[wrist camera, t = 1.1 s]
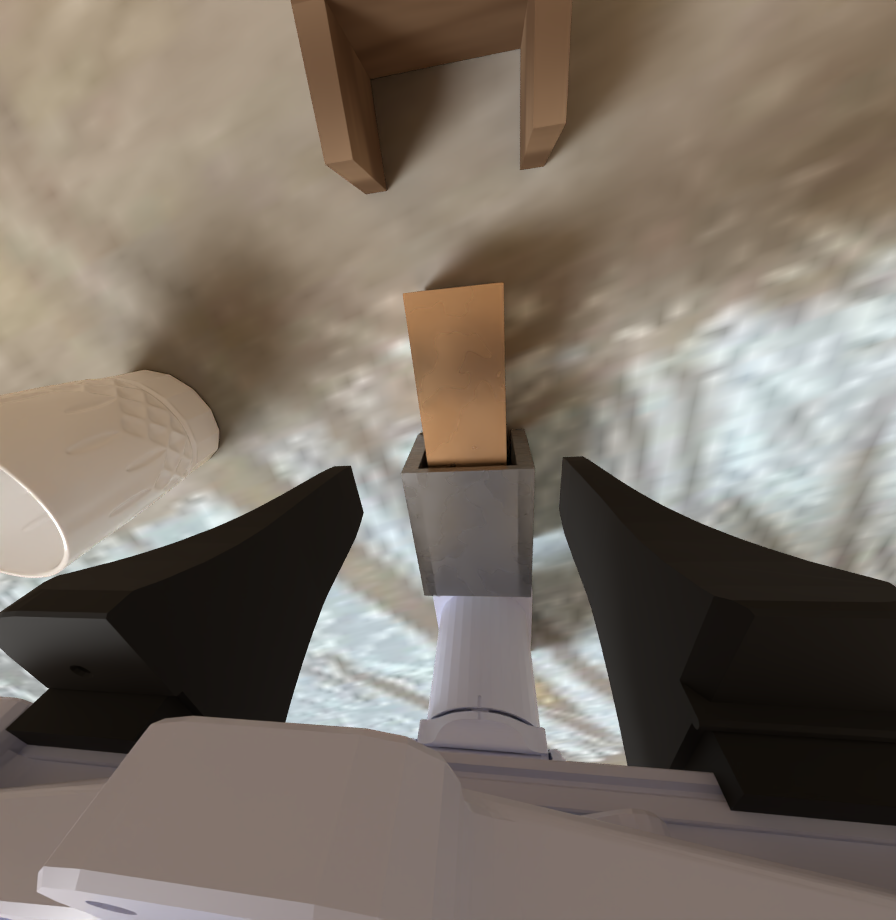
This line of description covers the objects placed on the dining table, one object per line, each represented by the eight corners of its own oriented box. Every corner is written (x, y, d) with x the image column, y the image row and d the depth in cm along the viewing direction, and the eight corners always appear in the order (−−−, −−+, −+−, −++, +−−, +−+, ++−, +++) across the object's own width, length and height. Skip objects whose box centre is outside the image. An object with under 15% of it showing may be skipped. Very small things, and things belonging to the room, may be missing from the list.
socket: (543, 166, 14) (565, 122, 10) (365, 194, 15) (325, 164, 11) (548, 2, 12) (579, -132, 8) (340, 48, 13) (280, -50, 9)
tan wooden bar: (505, 533, 24) (508, 577, 20) (450, 534, 24) (444, 576, 21) (499, 282, 16) (503, 282, 13) (419, 291, 17) (402, 293, 13)
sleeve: (523, 542, 24) (531, 597, 20) (434, 542, 25) (424, 595, 21) (524, 429, 20) (534, 468, 16) (418, 434, 21) (400, 473, 17)
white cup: (253, 444, 22) (104, 548, 14) (180, 485, 25) (14, 595, 16) (160, 336, 19) (-106, 381, 11) (88, 394, 22) (-178, 469, 13)
